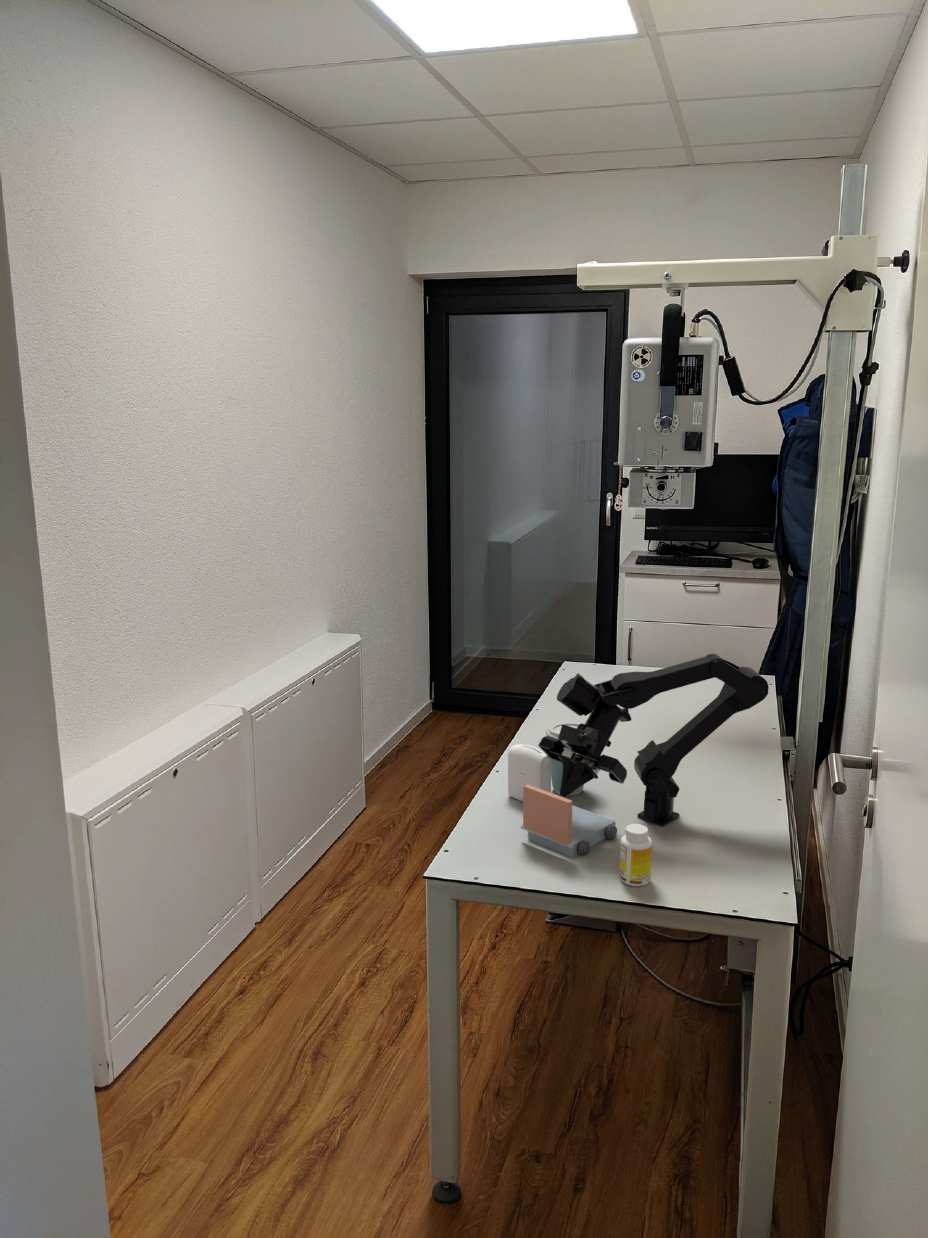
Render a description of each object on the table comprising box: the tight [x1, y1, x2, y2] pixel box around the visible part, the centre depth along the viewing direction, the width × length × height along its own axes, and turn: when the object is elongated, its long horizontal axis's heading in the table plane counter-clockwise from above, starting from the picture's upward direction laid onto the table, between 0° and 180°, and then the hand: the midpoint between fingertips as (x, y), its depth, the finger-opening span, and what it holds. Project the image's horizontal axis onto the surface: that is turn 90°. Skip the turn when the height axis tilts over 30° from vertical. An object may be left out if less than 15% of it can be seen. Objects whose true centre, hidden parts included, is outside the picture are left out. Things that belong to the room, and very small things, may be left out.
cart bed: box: [527, 804, 618, 858], centre depth 190 cm, size 14×14×3 cm
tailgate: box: [520, 784, 574, 849], centre depth 183 cm, size 1×12×9 cm, turn 46°
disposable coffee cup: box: [545, 721, 585, 797], centre depth 210 cm, size 11×11×15 cm
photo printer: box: [507, 743, 552, 802], centre depth 205 cm, size 10×4×12 cm, turn 45°
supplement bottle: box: [619, 823, 653, 887], centre depth 172 cm, size 6×6×10 cm
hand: (562, 796), depth 187 cm, fingers closed
